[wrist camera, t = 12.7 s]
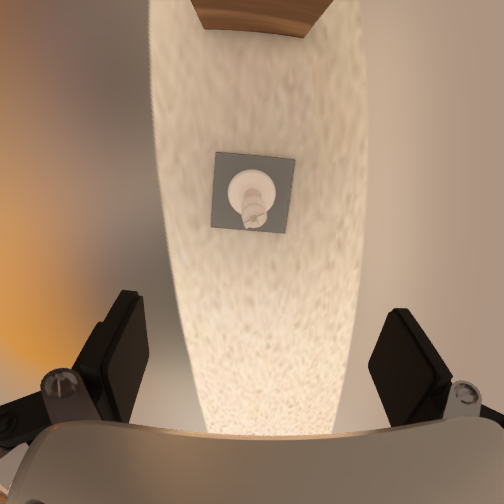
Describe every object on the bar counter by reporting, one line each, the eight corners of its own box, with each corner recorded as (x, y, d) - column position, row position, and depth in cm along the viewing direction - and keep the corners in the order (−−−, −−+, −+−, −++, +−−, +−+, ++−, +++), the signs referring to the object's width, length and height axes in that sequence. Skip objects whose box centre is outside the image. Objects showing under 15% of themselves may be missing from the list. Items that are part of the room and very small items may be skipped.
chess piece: (283, 203, 33) (299, 237, 24) (241, 223, 34) (240, 265, 24) (262, 161, 31) (270, 179, 22) (219, 182, 32) (209, 210, 23)
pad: (216, 152, 31) (215, 152, 30) (294, 159, 31) (295, 160, 31) (211, 226, 34) (210, 227, 34) (284, 232, 34) (285, 233, 34)
